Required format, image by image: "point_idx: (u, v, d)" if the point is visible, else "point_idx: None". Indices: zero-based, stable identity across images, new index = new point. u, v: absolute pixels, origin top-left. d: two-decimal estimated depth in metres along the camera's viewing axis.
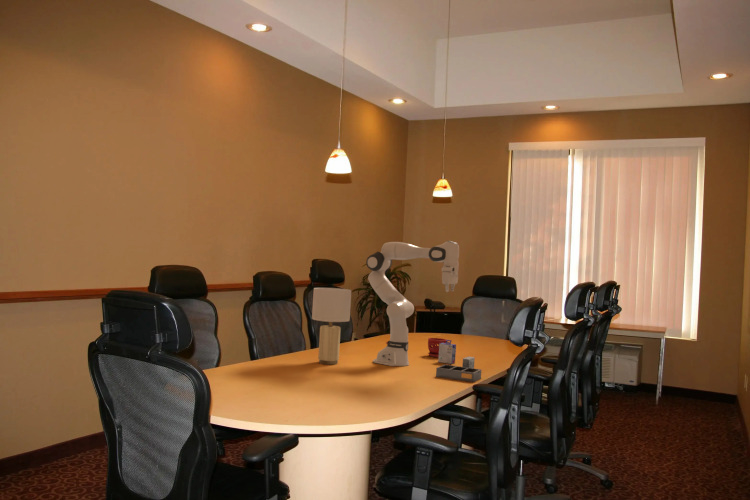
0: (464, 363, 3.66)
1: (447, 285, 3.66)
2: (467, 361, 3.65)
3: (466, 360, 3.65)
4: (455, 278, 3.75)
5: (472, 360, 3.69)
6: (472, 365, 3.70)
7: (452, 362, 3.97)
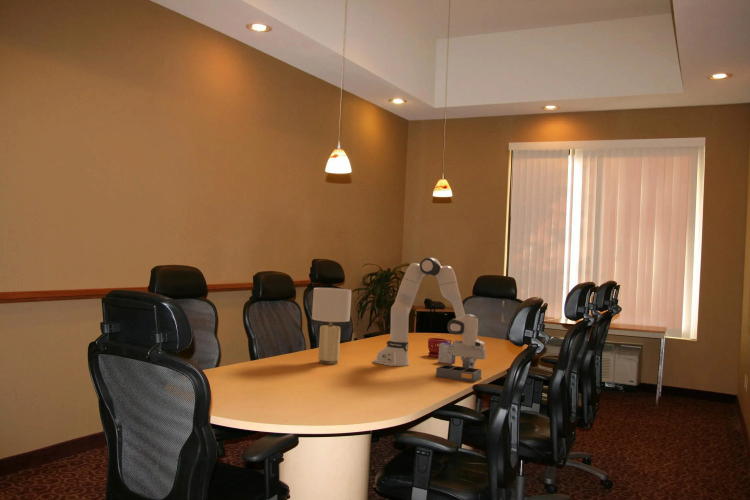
0: (464, 363, 3.66)
1: (476, 359, 3.68)
2: (467, 361, 3.65)
3: (466, 360, 3.65)
4: None
5: (472, 360, 3.69)
6: None
7: (452, 362, 3.97)
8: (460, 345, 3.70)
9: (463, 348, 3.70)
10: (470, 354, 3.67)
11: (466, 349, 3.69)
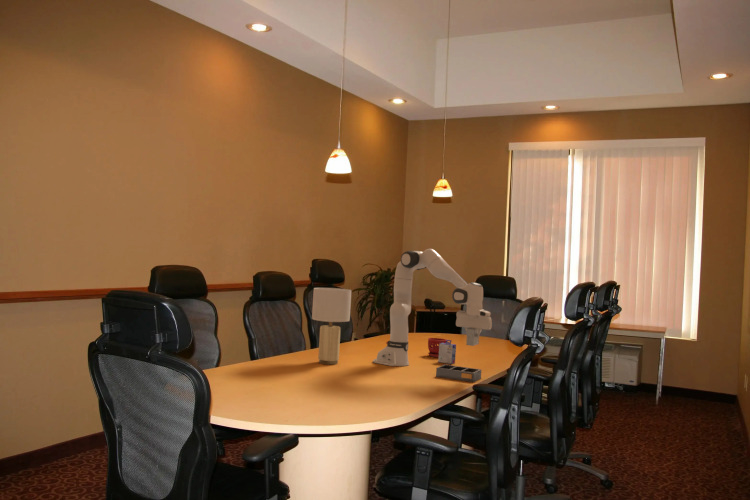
0: (468, 333, 3.47)
1: (481, 330, 3.50)
2: (472, 331, 3.47)
3: (471, 330, 3.47)
4: None
5: (477, 330, 3.51)
6: None
7: (452, 362, 3.97)
8: (464, 315, 3.52)
9: (468, 318, 3.51)
10: (474, 324, 3.49)
11: (470, 319, 3.51)
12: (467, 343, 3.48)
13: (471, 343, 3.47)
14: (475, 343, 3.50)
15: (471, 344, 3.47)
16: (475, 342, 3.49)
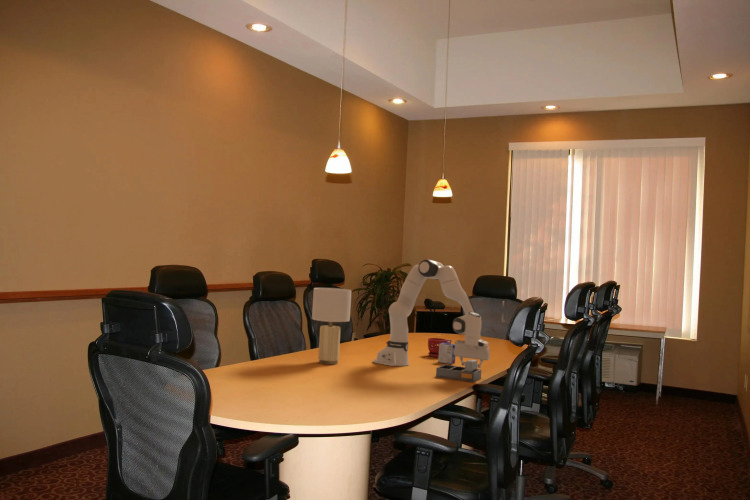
0: (466, 366, 3.47)
1: (482, 360, 3.49)
2: (469, 364, 3.47)
3: (468, 363, 3.47)
4: None
5: (475, 363, 3.51)
6: (475, 368, 3.52)
7: (452, 362, 3.97)
8: (462, 345, 3.52)
9: (466, 348, 3.51)
10: (473, 354, 3.49)
11: (469, 349, 3.51)
12: None
13: None
14: None
15: None
16: None
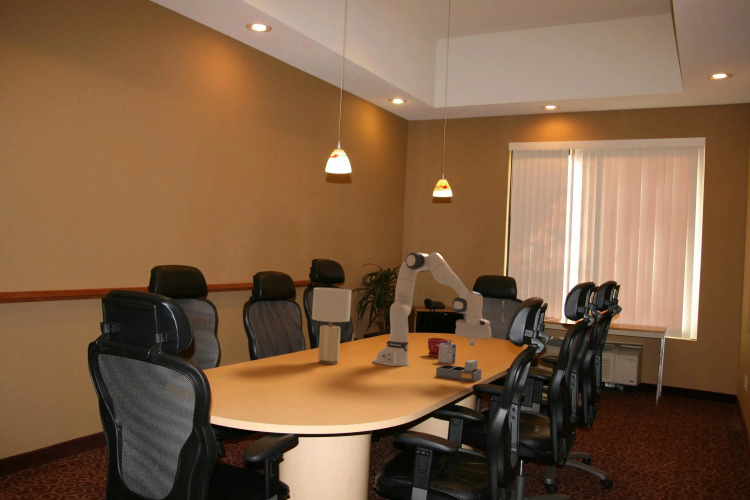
0: (466, 366, 3.47)
1: (477, 338, 3.51)
2: (469, 364, 3.47)
3: (468, 363, 3.47)
4: None
5: (475, 363, 3.51)
6: (475, 368, 3.52)
7: (452, 362, 3.97)
8: (464, 324, 3.52)
9: (467, 327, 3.51)
10: (474, 333, 3.49)
11: (470, 328, 3.51)
12: None
13: None
14: None
15: None
16: None
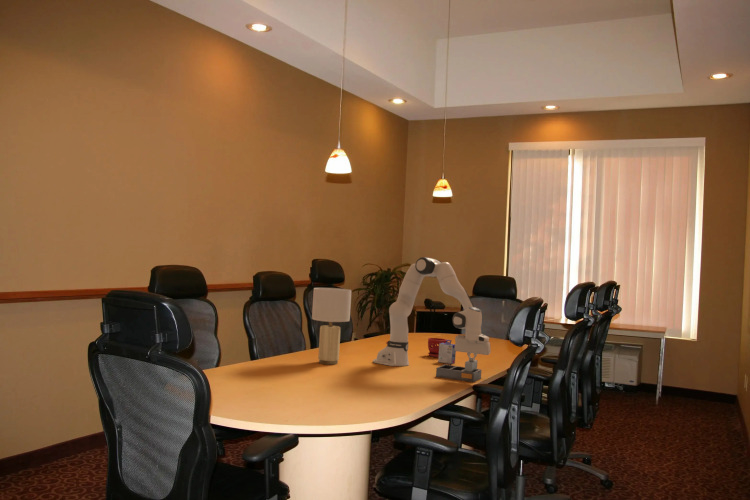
0: (466, 366, 3.47)
1: (476, 354, 3.51)
2: (470, 364, 3.47)
3: (469, 363, 3.47)
4: None
5: (475, 363, 3.51)
6: (475, 368, 3.52)
7: (452, 362, 3.97)
8: (463, 340, 3.52)
9: (466, 343, 3.51)
10: (473, 349, 3.49)
11: (469, 344, 3.51)
12: None
13: None
14: None
15: None
16: None
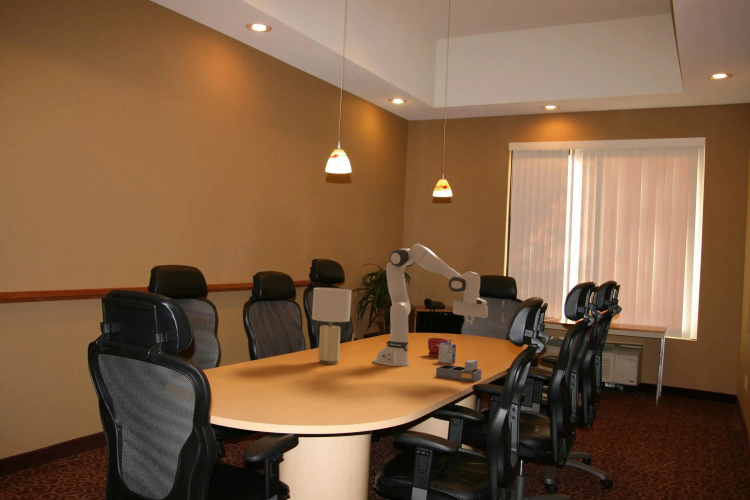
0: (466, 366, 3.47)
1: None
2: (469, 364, 3.47)
3: (468, 363, 3.47)
4: None
5: (475, 363, 3.51)
6: (475, 368, 3.52)
7: (452, 362, 3.97)
8: (461, 303, 3.60)
9: (464, 306, 3.59)
10: (471, 312, 3.57)
11: (467, 307, 3.58)
12: None
13: None
14: None
15: None
16: None
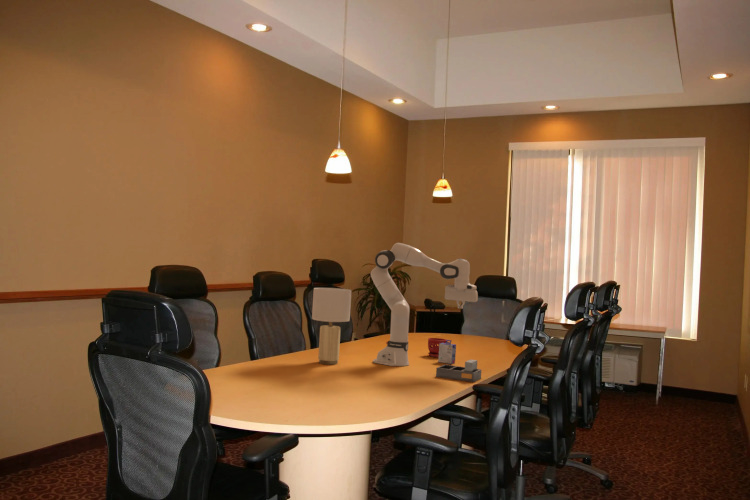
0: (466, 366, 3.47)
1: (464, 302, 3.78)
2: (469, 364, 3.47)
3: (468, 363, 3.47)
4: None
5: (475, 363, 3.51)
6: (475, 368, 3.52)
7: (452, 362, 3.97)
8: (452, 289, 3.80)
9: (455, 292, 3.79)
10: (462, 297, 3.77)
11: (458, 292, 3.78)
12: None
13: None
14: None
15: None
16: None
